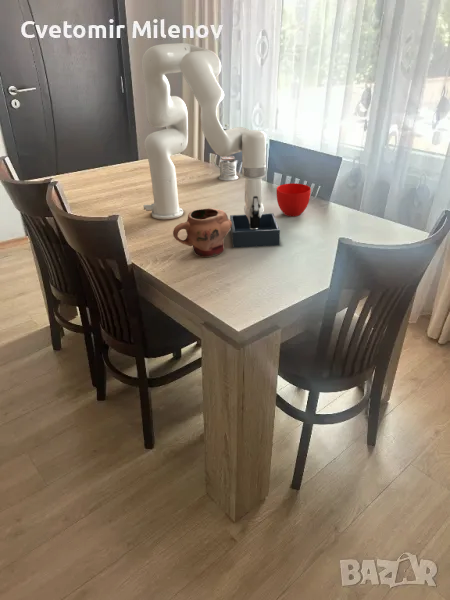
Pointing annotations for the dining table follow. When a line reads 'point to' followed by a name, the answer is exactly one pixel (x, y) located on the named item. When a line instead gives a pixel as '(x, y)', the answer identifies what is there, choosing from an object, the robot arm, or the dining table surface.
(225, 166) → the french press
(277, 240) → the tote
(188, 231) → the brown clay mug
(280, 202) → the ceramic cup
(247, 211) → the light bulb
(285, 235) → the dining table surface
